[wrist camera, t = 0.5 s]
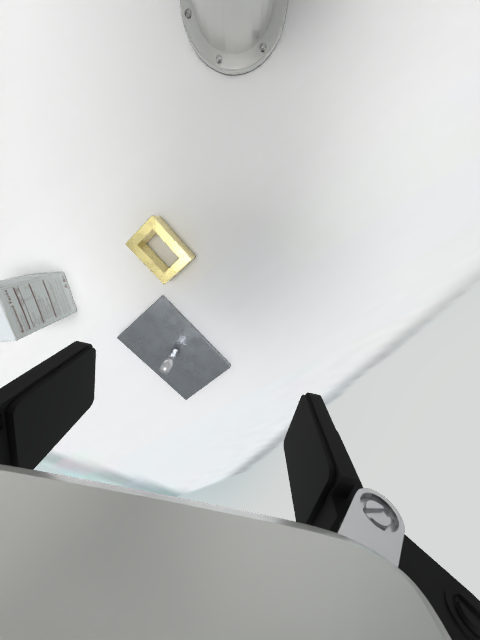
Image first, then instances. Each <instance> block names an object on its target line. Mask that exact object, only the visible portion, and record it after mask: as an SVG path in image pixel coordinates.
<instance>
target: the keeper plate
mask: <svg viewBox="0 0 480 640" xmlns="http://www.w3.org/2000/svg"><path fill="white" fill-rule="evenodd" d="M117 338H118V339H119V340H120V341H121V342H122V343H124V344H125V345H126V346H127V347H128V348H129V349H130V350H131V351H132V352H134V353H135V354H136V355H137V356H138V357H139V358H140V359H141V360H142V361H143V362H145V363H146V364H147V365H148V366H149V367H150V368H151V369H152V370H153V371H155V372H156V373H157V374H158V375H159V376H160V377H161V378H162V379H163V380H164V381H166V382H167V383H168V384H169V385H170V386H171V387H172V388H173V389H174V390H176V391H177V392H178V393H179V394H180V395H181V396H182V397H183V398H184V399H185V400H187V399H188V398H189V397H191V396H192V395H193V394H195V393H196V392H197V391H199V390H200V389H202V388H203V387H204V386H206V385H207V384H208V383H210V382H211V381H212V380H214V379H215V378H216V377H218V376H219V375H221V374H222V373H223V372H225V371H226V370H227V369H229V368H230V367H231V364H230V363H229V362H228V361H227V360H226V359H225V358H224V357H223V356H222V355H221V354H220V353H219V352H218V351H217V350H216V349H215V348H214V347H213V346H212V345H211V344H210V343H209V342H208V341H207V340H206V339H205V338H204V337H203V336H202V335H201V334H200V333H199V332H198V331H197V330H196V328H195V327H194V326H193V325H192V324H191V323H190V322H189V321H188V320H187V319H186V318H185V317H184V316H183V315H182V314H181V313H180V312H179V311H178V310H177V309H176V308H175V307H174V306H173V305H172V304H171V303H170V302H169V301H168V300H167V299H166V298H165V297H164V296H162V297H161V298H160V299H158V300H157V301H156V302H155V303H154V304H153V305H152V306H151V307H150V308H149V309H148V310H146V311H145V312H144V313H143V314H142V315H141V316H140V317H139V318H138V319H137V320H136V321H134V322H133V323H132V324H131V325H130V326H129V327H128V328H127V329H126V330H125V331H124V332H123V333H121V334H120V335H119V336H118V337H117Z"/></svg>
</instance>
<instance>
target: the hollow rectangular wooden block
mask: <svg viewBox="0 0 480 640" xmlns="http://www.w3.org/2000/svg"><path fill="white" fill-rule="evenodd" d="M156 233H157V234H158V235H159V236H160V237H161V238H162V240H163V241H164V242H165V243H166V244H167V245H168V246H169V247H170V248H171V249H172V251H173V252H174V253H175V254H176V255H177V256H178V257H179V259H178V260H177V261H176V262H175V263H174V264H173V265H172V266H171V267H170V268H169V267H168V266H167V265H166V264H165V263H164V262H163V261H162V260H161V259H160V258H159V257H158V256H157V255H156V254H155V252H154V251H153V250H152V249H151V248H150V247H149V246H148V245H147V242H148V241H149V240H150V239H151V238H152V237H153V236H154V235H155V234H156ZM126 245H127V246H128V247H129V248H130V249H131V251H132V252H133V253H134V254H135V255H136V256H137V257H138V258H139V259H140V260H141V261H142V262H143V263H144V264H145V265H146V266H147V267H148V268H149V269H150V270H151V271H152V272H153V273H154V274H155V275H156V277H157V278H158V279H159V280H160V281H161V282H162V283H163V284H166V283H167V282H169V281H170V280H171V279H173V278H174V277H175V276H176V275H177V274H178V273H179V272H180V271H181V270H182V269H183V268H184V267H185V266H187V265H188V264H189V263H190V262H191V261H192V260H193V259H194V258H195V257H196V256H195V255H194V254H193V253H192V252H191V251H190V250H189V248H188V247H187V246H186V245H185V244H184V243H183V242H182V241H181V239H180V238H179V237H178V236H177V235H176V234H175V233H174V232H173V230H172V229H171V228H170V227H169V226H168V225H167V224H166V223H165V221H164V220H163V219H162V218H161V217H158V216H151V217H150V218H149V219H148V221H147V222H146V223H145V224H144V225H143V226H142V227H141V228H140V229H139V230H138V231H137V232H136V233H135V234H134V235H133V236H132V237H131V239H130V240H129V241H128V242H127V243H126Z"/></svg>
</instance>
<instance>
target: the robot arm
mask: <svg viewBox="0 0 480 640" xmlns="http://www.w3.org/2000/svg"><path fill="white" fill-rule="evenodd" d="M180 4H181V14H182V18H183V22H184V26H185V29H186V32H187V35H188V38H189V40H190V42H191V44H192V46H193V48H194V50H195V51H196V53H197V54H198V56H199V57H200V58H201V59H202V60H203V61H204V62H205V63H206V64H207V65H208V66H210V67H211V68H213V69H214V70H216V71H218V72H221V73H224V74H231V75H237V74H244V73H246V72H249V71H251V70H253V69H255V68H256V67H258V66H259V65H261V64H262V63H263V62H264V61H265V60H266V59H267V58H268V56H269V55H270V54H271V52H272V51H273V49H274V48H275V46H276V44H277V42H278V40H279V38H280V35H281V32H282V29H283V25H284V21H285V16H286V10H287V0H180ZM189 17H190V19H188V18H189ZM262 50H263V51H264V52H261V51H262ZM219 62H222V63H221V64H218V63H219ZM95 359H96V350H95V349H94V348H93V347H92V345H91V344H88V343H84V342H79V341H76V342H74V343H72V344H70V345H69V346H67V347H66V348H64V349H62V350H61V351H59V352H58V353H56V354H55V355H53V356H51V357H50V358H48V359H47V360H45V361H43V362H42V363H40V364H39V365H37V366H35V367H34V368H32V369H31V370H29V371H27V372H26V373H24V374H23V375H21V376H19V377H18V378H16V379H15V380H13V381H11V382H10V383H8V384H7V385H5V386H3V387H2V388H0V640H480V601H479V600H478V599H477V598H476V597H475V596H474V595H473V594H472V593H471V592H470V591H468V590H467V589H466V588H465V587H464V586H463V585H461V584H460V583H459V582H458V581H457V580H456V579H454V578H453V577H452V576H451V575H450V574H449V573H448V572H447V571H446V570H445V569H443V568H442V567H441V566H440V565H439V564H438V563H437V562H435V561H434V560H433V559H432V558H431V557H430V556H429V555H427V554H426V553H425V552H424V551H423V550H422V549H420V548H419V547H418V546H417V545H416V544H415V543H414V542H413V541H411V540H410V539H409V538H408V537H407V536H406V535H405V534H404V532H405V530H404V523H403V520H402V518H401V516H400V514H399V512H398V511H397V509H396V508H395V507H394V506H393V504H392V503H391V502H390V501H389V500H388V499H386V498H385V497H384V496H383V495H381V494H380V493H378V492H377V491H374V490H372V489H368V488H363V487H362V484H361V482H360V480H359V477H358V475H357V473H356V471H355V468H354V466H353V464H352V462H351V460H350V457H349V455H348V453H347V451H346V449H345V446H344V444H343V442H342V440H341V438H340V435H339V433H338V432H337V430H336V429H335V426H334V424H333V422H332V420H331V417H330V415H329V413H328V411H327V408H326V406H325V404H324V402H323V399H322V397H321V396H320V395H317V394H312V393H306V395H302V396H301V398H300V401H299V404H298V406H297V409H296V411H295V414H294V416H293V419H292V421H291V424H290V426H289V429H288V432H287V434H286V437H285V439H284V451H285V457H286V463H287V469H288V475H289V481H290V487H291V493H292V499H293V504H294V511H295V517H296V522H294V521H289V520H285V519H280V518H276V517H271V516H266V515H262V514H257V513H252V512H247V511H242V510H237V509H232V508H227V507H222V506H217V505H212V504H208V503H203V502H197V501H193V500H188V499H182V498H177V497H172V496H167V495H162V494H157V493H152V492H147V491H142V490H136V489H131V488H126V487H121V486H116V485H111V484H105V483H100V482H95V481H90V480H84V479H79V478H74V477H68V476H63V475H58V474H52V473H47V472H42V471H37V470H33V469H34V468H35V467H36V466H37V465H38V464H39V463H40V462H41V461H42V459H43V458H44V457H45V456H46V455H47V454H48V453H49V452H50V451H51V450H52V448H53V447H54V446H55V445H56V444H57V443H58V442H59V441H60V440H61V439H62V437H63V436H64V435H65V434H66V433H67V432H68V431H69V430H70V429H71V428H72V426H73V425H74V424H75V423H76V422H77V421H78V420H79V419H80V418H81V417H82V415H83V414H84V413H85V412H86V411H87V410H88V409H89V408H90V406H91V405H92V403H93V401H94V387H95Z"/></svg>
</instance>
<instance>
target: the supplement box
mask: <svg viewBox="0 0 480 640" xmlns="http://www.w3.org/2000/svg"><path fill="white" fill-rule="evenodd" d="M76 311H77V310H76V306H75V303H74V300H73V297H72V294H71V291H70V288H69V285H68V282H67V280H66V277H65V274H64V272H55V273H43V274H33V275H24V276H20V277H15V278H11V279H6V280H1V281H0V342H5V341H17V340H19V339H21V338H23V337H25V336H27V335H29V334H31V333H33V332H35V331H37V330H39V329H41V328H44V327H46V326H48V325H50V324H52V323H54V322H56V321H58V320H60V319H62V318H64V317H66V316H68V315H70V314H72V313H74V312H76Z"/></svg>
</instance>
